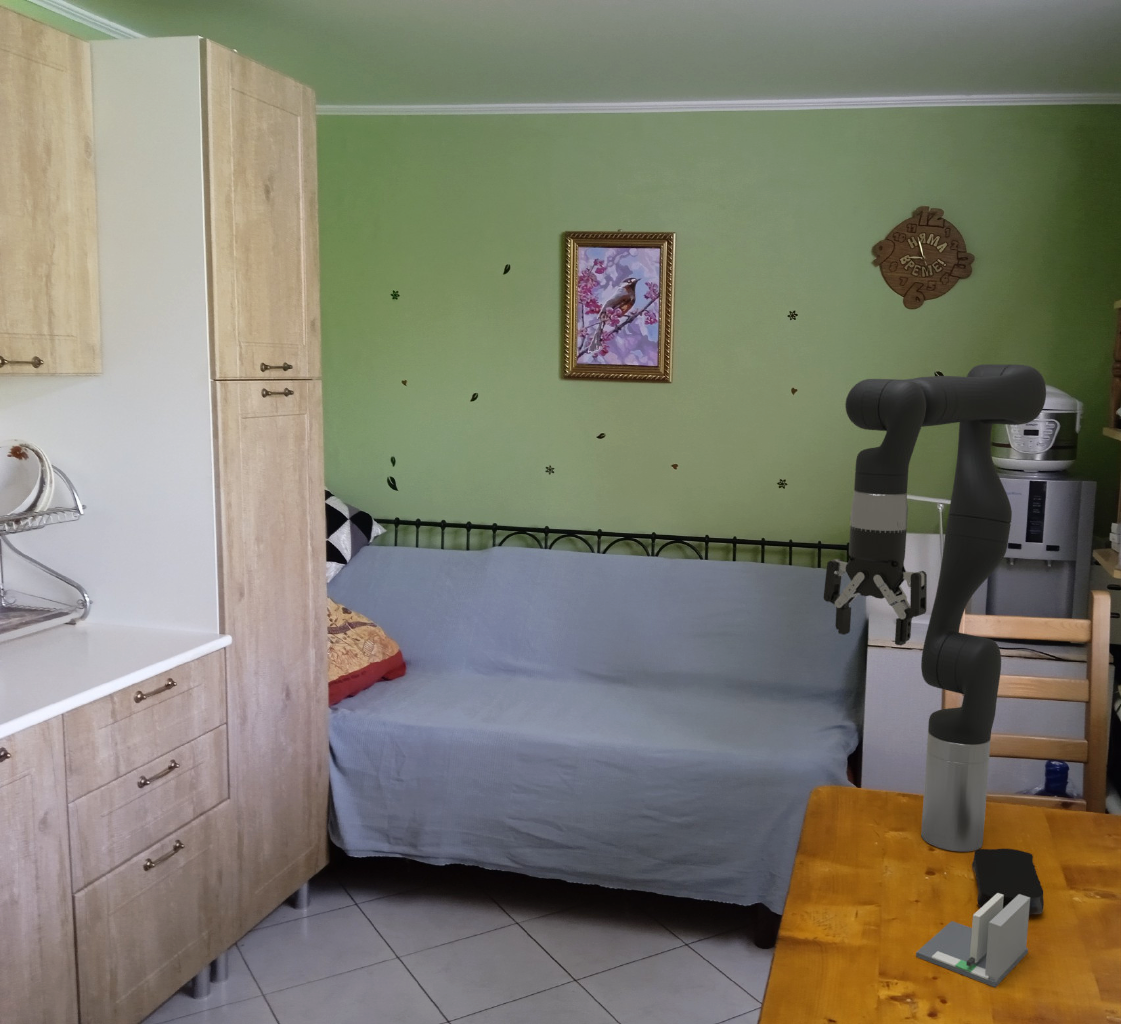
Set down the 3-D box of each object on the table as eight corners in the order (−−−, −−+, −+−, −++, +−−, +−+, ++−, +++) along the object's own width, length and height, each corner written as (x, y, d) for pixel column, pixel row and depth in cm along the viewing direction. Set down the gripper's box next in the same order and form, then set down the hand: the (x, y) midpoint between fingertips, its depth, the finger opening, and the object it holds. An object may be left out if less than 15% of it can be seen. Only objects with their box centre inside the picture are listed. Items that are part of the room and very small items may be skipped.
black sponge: (1044, 925, 148) (1047, 899, 148) (978, 915, 151) (980, 890, 150) (1030, 873, 164) (1032, 850, 163) (970, 865, 166) (971, 842, 166)
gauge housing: (951, 924, 147) (955, 871, 146) (1027, 952, 141) (1032, 896, 140) (915, 956, 139) (919, 899, 138) (995, 987, 133) (1000, 927, 132)
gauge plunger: (994, 936, 142) (997, 892, 141) (1000, 938, 141) (1003, 894, 141) (965, 964, 135) (968, 918, 134) (971, 967, 134) (975, 921, 134)
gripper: (939, 527, 150) (931, 643, 152) (844, 516, 160) (838, 625, 162) (916, 533, 145) (908, 653, 147) (818, 521, 154) (812, 634, 156)
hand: (871, 638), depth 154 cm, fingers open, 8 cm apart
